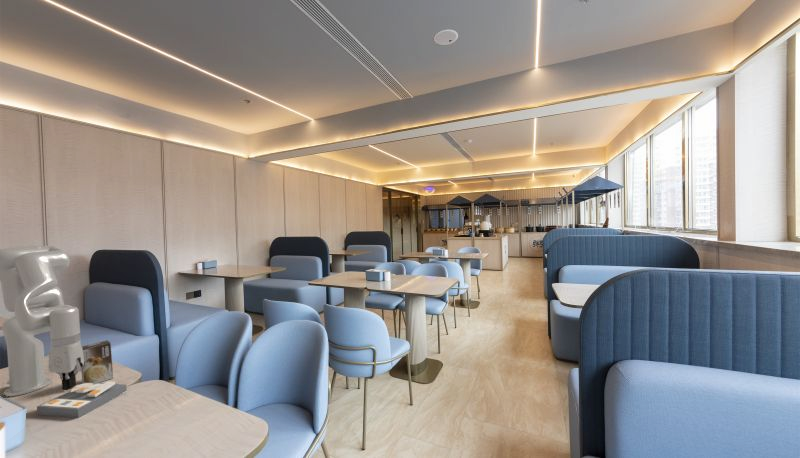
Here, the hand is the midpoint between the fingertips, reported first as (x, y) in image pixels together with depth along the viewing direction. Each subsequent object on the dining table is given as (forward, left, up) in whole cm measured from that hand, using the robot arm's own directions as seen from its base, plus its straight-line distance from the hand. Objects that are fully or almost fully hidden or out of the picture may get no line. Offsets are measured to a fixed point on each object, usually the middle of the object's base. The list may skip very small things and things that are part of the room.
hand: (69, 388), depth 113 cm
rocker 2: (+5, +3, -2) cm, 6 cm away
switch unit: (+5, +1, -6) cm, 8 cm away
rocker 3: (+11, +3, -2) cm, 11 cm away
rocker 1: (0, +3, -2) cm, 4 cm away
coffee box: (-9, +16, -6) cm, 19 cm away
